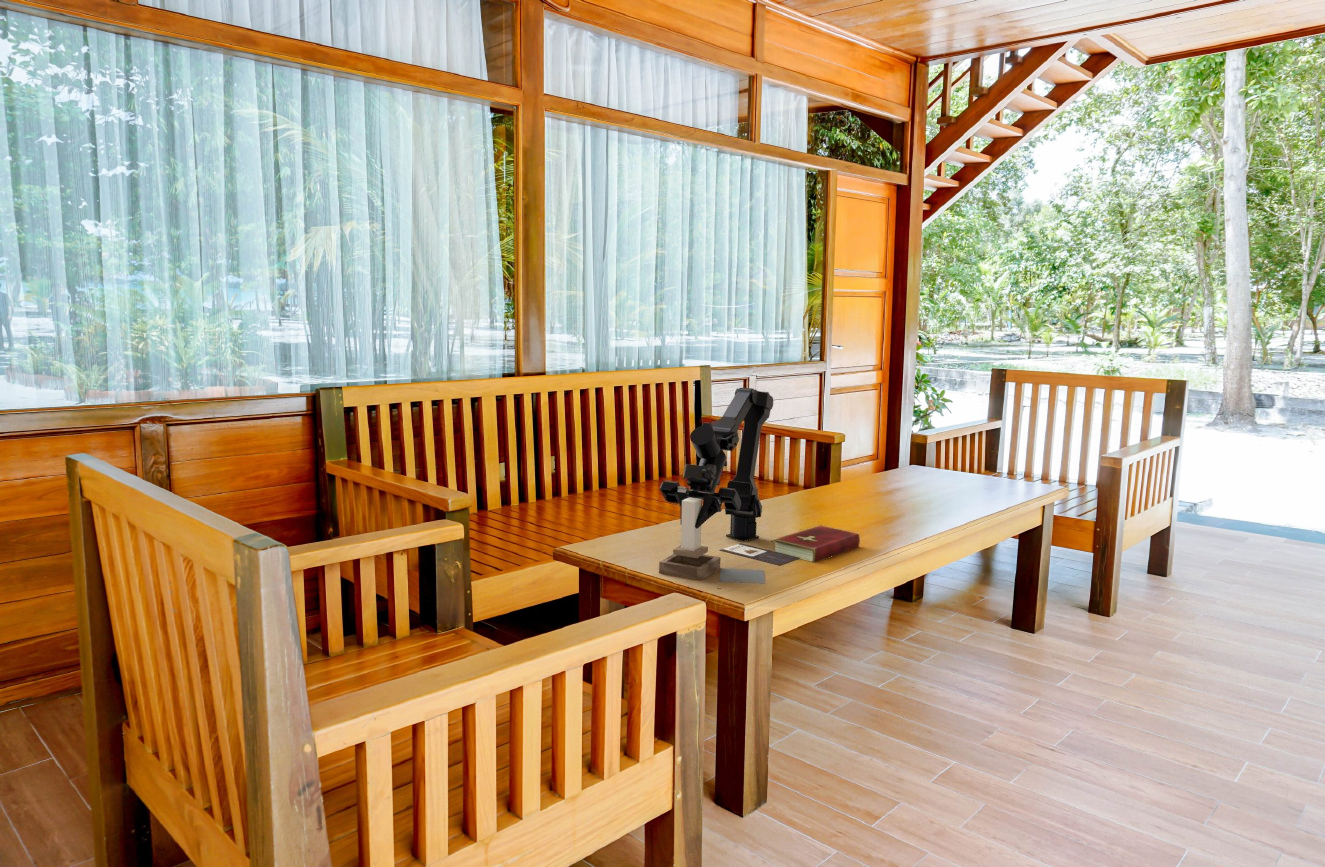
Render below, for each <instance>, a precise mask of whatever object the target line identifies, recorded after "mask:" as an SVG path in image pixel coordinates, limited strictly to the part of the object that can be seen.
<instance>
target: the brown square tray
mask: <svg viewBox="0 0 1325 867" xmlns="http://www.w3.org/2000/svg"><path fill="white" fill-rule="evenodd" d="M720 569H721V557H720V556H714V555H707V554H703V555H702V556H700V557H699V558H692V557H686V556H680V555H674V554H673V553H672V554H670V556H667V557H666V558H664V559H662V560H660V561H659V564H658V573H659V574H663V575H668V576H675V577H681V578H688V579H692V580H699V581H702V580H704V579H706V578H707V577H709V576H711V575H712V574H713V573H714V572H716V571H718V570H720Z"/></svg>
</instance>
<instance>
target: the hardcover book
mask: <svg viewBox="0 0 1325 867" xmlns="http://www.w3.org/2000/svg"><path fill="white" fill-rule="evenodd" d="M860 538H861V537H860V534H859V533H858V532H853V531H848V530H845V529H844V530H843V529H841V528H840V529H839V528H834V527H830V526H826V525H821V524H819V525H816V526H813V527H809V528H806V529H803V530H799V531H797V532H793V533H790V534H787V535H784V536H780V537H777V538H774V539H773V542H775V550H774V551H775V552H779V553H783V554H787V555H791V556H795V557H799V558H800V559H801V560H805V561H808V562H809V561H810V562H812V563H815V562H818V561H821V560H824V559H825V560H827V559H829V557H830V558H832V557H831V556H833V557H835V556H834V555H836V556H837V555H841V554H843V552H844V553H846V551H847V552H849V551H851V549H852V550H855V549H858V548H859V547H860V543H861V539H860ZM857 547H858V548H857ZM854 548H855V549H854ZM848 550H849V551H848ZM826 558H827V559H826ZM800 559H799V560H800Z"/></svg>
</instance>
